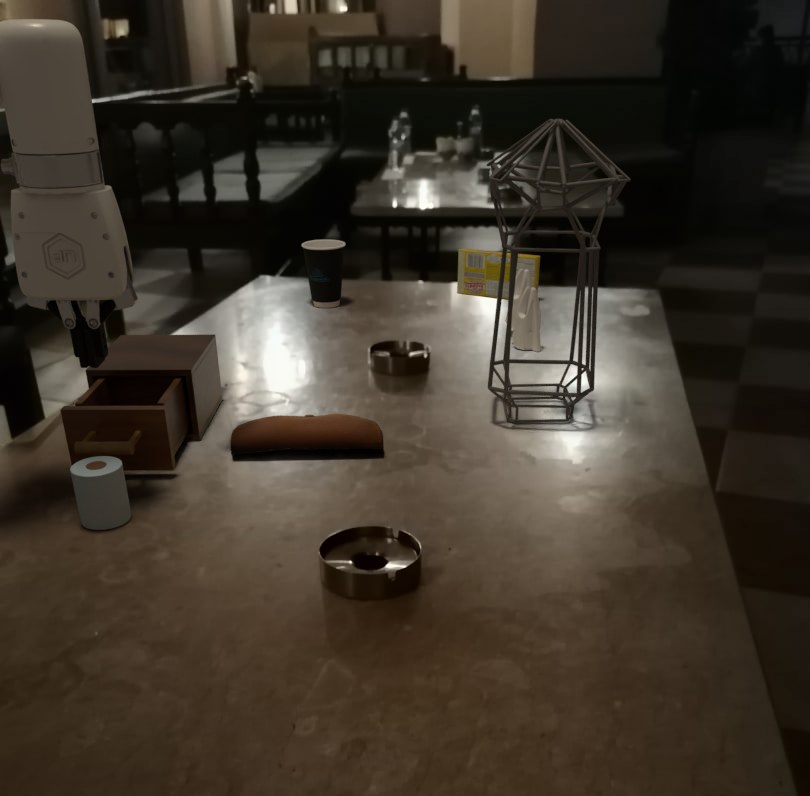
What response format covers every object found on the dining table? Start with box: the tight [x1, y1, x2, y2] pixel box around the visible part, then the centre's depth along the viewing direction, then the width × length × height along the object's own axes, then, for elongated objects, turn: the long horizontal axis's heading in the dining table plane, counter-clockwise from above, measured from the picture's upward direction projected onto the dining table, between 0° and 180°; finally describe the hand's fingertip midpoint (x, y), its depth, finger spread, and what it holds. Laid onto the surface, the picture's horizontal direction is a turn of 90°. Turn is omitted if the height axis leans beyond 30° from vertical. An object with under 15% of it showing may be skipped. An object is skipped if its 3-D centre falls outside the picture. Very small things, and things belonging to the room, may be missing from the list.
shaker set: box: [504, 269, 542, 353], centre depth 144 cm, size 12×4×11 cm, turn 3°
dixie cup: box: [301, 239, 346, 309], centre depth 166 cm, size 8×8×11 cm
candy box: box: [456, 248, 541, 300], centre depth 170 cm, size 16×2×8 cm, turn 60°
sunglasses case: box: [230, 413, 385, 457], centre depth 109 cm, size 18×7×7 cm
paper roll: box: [69, 456, 132, 531], centre depth 92 cm, size 5×5×6 cm
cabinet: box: [85, 334, 223, 442], centre depth 116 cm, size 15×13×9 cm
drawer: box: [60, 376, 192, 472], centre depth 104 cm, size 18×11×7 cm, turn 179°
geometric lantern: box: [486, 118, 632, 424], centre depth 110 cm, size 16×16×35 cm
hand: (93, 363), depth 93 cm, fingers closed
